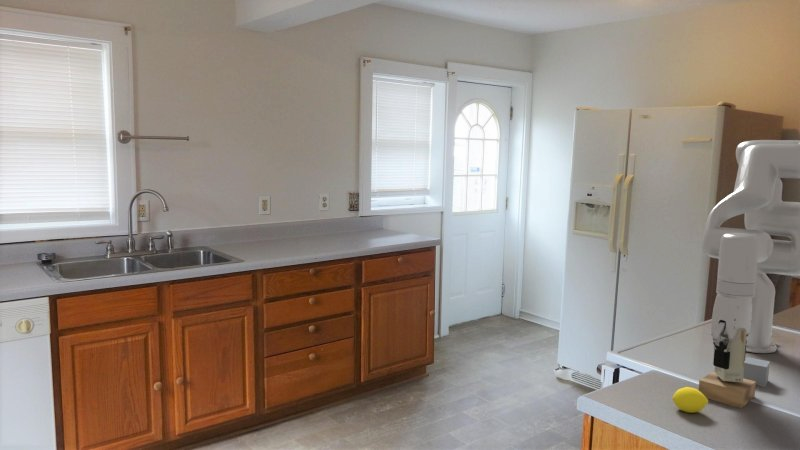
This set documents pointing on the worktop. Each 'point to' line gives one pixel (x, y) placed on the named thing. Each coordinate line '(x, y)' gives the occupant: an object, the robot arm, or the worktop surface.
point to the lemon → (689, 400)
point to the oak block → (727, 390)
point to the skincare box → (734, 359)
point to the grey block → (756, 370)
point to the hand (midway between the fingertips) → (729, 363)
